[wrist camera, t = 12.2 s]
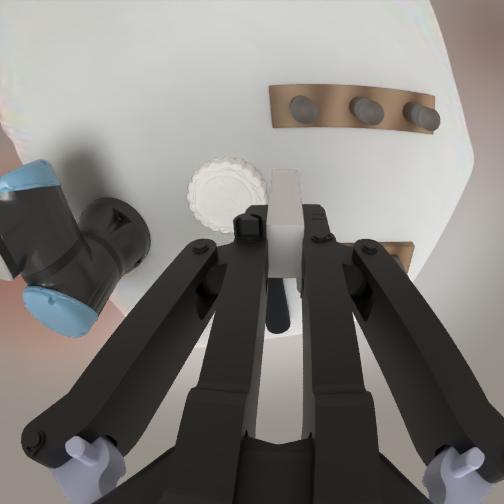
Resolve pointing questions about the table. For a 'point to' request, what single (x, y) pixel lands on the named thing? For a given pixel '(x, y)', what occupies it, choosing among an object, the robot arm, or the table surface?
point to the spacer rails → (355, 121)
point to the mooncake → (224, 192)
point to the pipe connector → (276, 307)
